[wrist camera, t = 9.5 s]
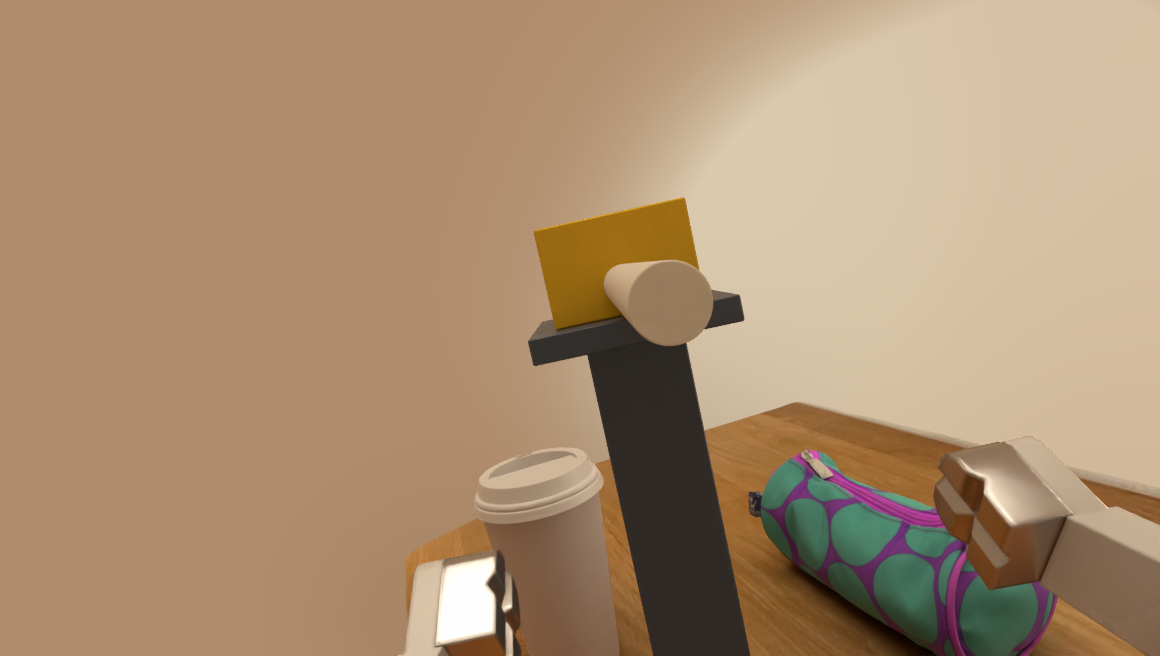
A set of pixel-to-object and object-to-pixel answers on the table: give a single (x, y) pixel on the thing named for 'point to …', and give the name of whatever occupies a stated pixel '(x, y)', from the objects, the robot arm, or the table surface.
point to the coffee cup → (553, 549)
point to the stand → (662, 479)
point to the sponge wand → (628, 272)
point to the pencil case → (895, 562)
